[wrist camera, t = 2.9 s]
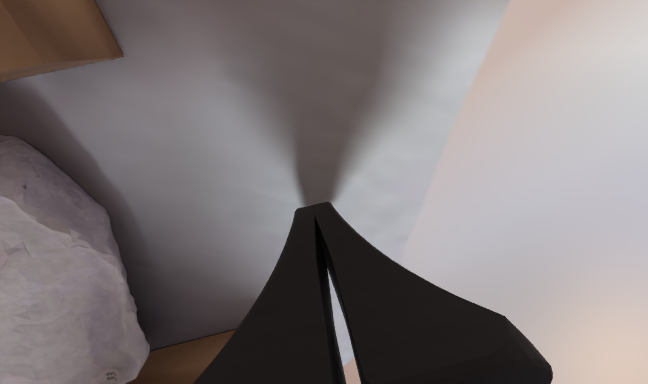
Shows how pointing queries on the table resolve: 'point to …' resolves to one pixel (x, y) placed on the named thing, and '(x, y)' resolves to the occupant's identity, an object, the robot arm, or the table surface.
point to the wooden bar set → (70, 51)
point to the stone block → (60, 280)
